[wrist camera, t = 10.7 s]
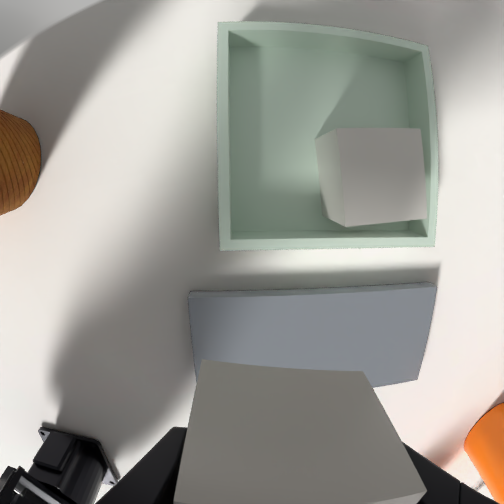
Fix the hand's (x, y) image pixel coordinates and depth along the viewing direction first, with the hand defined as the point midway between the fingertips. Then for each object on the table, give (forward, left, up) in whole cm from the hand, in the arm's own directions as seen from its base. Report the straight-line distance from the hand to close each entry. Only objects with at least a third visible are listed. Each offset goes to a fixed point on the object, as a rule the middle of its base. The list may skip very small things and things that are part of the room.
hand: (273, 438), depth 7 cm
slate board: (-3, -4, -11) cm, 12 cm away
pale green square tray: (+9, -4, -11) cm, 15 cm away
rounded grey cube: (+7, -5, -11) cm, 13 cm away
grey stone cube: (0, 0, -1) cm, 0 cm away
